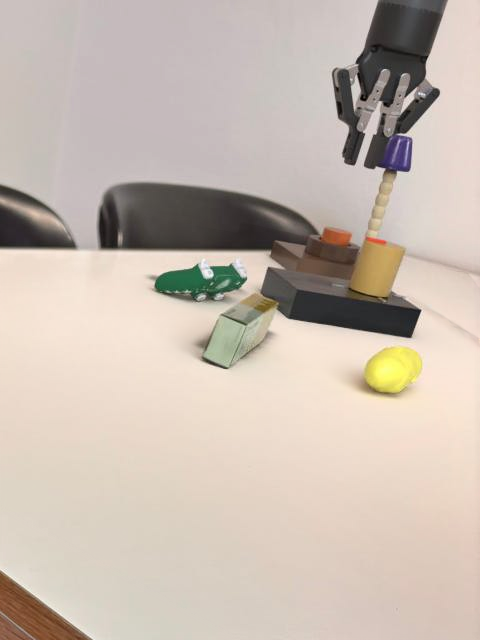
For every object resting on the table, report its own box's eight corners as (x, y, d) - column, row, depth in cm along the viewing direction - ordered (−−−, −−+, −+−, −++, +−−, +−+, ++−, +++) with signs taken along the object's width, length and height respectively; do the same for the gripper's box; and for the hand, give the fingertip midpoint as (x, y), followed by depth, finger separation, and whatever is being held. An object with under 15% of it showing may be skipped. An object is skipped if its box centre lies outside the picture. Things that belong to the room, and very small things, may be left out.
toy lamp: (343, 265, 146) (386, 133, 138) (341, 259, 150) (383, 130, 142) (377, 273, 146) (423, 141, 137) (375, 267, 150) (419, 138, 141)
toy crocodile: (161, 313, 111) (203, 285, 106) (149, 279, 111) (190, 249, 106) (217, 311, 116) (259, 284, 112) (206, 278, 117) (247, 250, 112)
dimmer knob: (380, 289, 118) (398, 240, 115) (394, 299, 114) (413, 248, 111) (343, 283, 117) (359, 233, 114) (356, 293, 113) (373, 241, 111)
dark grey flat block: (377, 312, 122) (387, 284, 120) (414, 338, 114) (425, 308, 112) (259, 293, 120) (268, 264, 118) (288, 318, 111) (298, 287, 110)
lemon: (425, 393, 95) (442, 350, 93) (386, 404, 89) (403, 358, 87) (382, 377, 97) (398, 334, 95) (342, 387, 91) (358, 342, 89)
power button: (341, 243, 138) (346, 229, 137) (352, 250, 135) (356, 235, 134) (315, 239, 138) (320, 225, 137) (325, 245, 134) (330, 231, 134)
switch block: (352, 271, 143) (363, 240, 141) (382, 290, 135) (393, 258, 133) (269, 257, 141) (278, 225, 139) (293, 275, 133) (304, 242, 131)
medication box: (229, 371, 90) (247, 325, 88) (200, 358, 90) (217, 313, 88) (263, 342, 99) (280, 300, 97) (236, 331, 100) (253, 289, 98)
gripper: (368, -7, 118) (317, 161, 127) (481, 18, 121) (423, 181, 130) (343, -8, 125) (296, 152, 133) (451, 15, 127) (398, 171, 136)
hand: (359, 165), depth 131 cm, fingers closed
